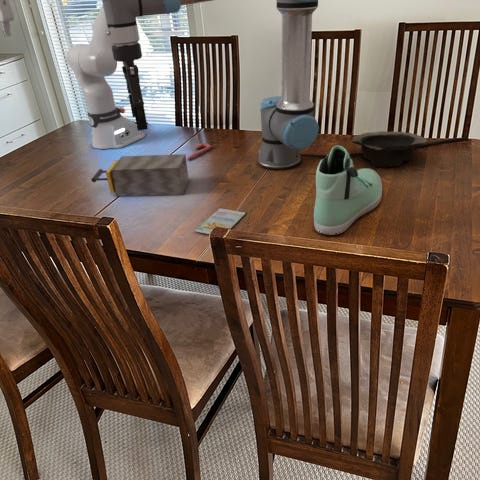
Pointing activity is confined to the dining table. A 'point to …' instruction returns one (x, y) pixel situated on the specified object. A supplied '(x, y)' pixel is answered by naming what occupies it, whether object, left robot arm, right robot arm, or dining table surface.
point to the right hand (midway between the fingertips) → (139, 122)
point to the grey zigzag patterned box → (150, 175)
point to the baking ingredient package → (220, 220)
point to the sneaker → (343, 192)
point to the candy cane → (200, 150)
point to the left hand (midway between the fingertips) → (1, 35)
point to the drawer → (109, 177)
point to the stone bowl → (388, 147)
